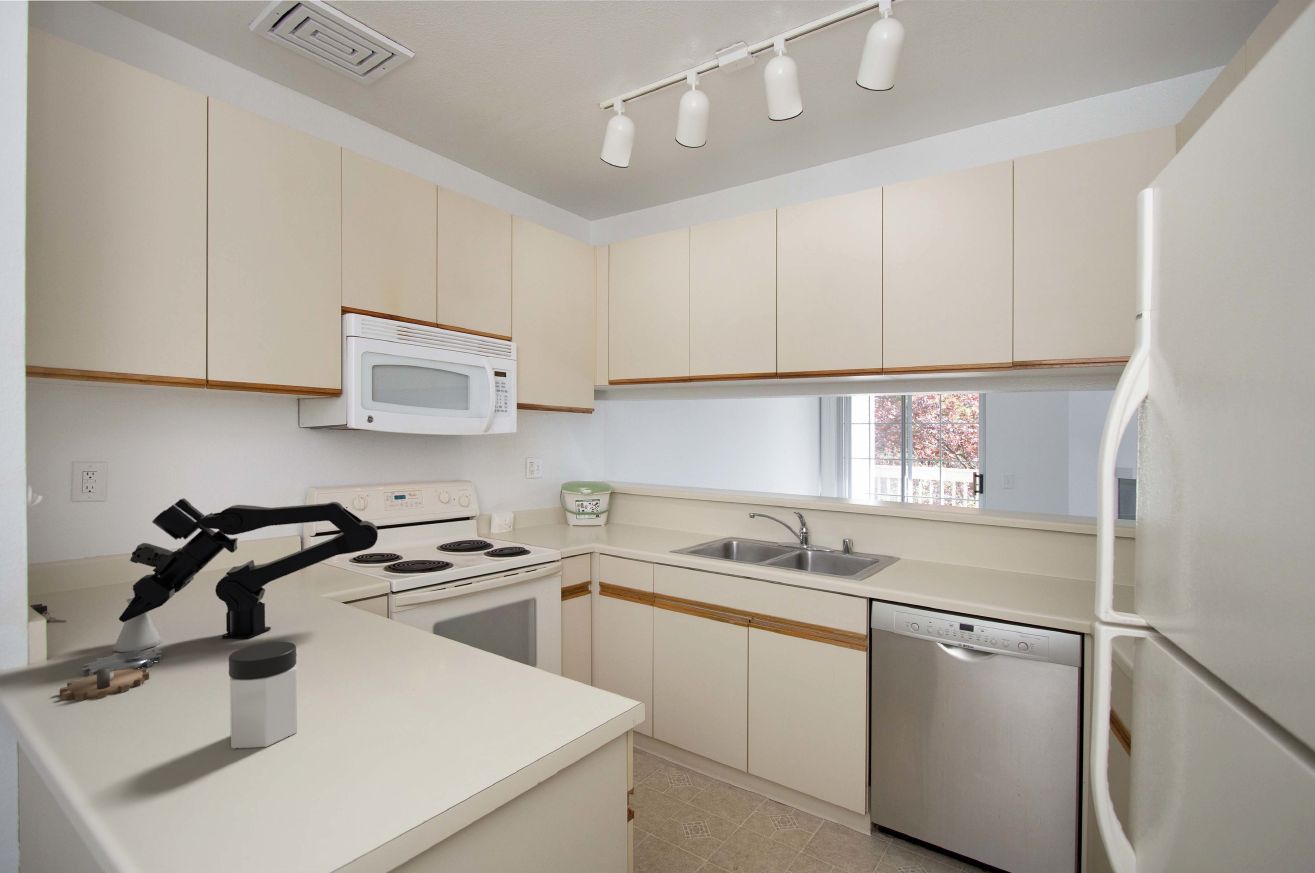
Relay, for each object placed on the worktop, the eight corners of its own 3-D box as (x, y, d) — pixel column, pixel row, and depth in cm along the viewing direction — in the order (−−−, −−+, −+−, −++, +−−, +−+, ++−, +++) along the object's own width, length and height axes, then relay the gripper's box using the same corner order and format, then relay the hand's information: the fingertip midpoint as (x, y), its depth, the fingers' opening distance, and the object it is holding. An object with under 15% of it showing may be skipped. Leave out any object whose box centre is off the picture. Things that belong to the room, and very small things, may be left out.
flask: (140, 653, 121) (139, 602, 121) (104, 653, 121) (103, 602, 121) (170, 640, 128) (169, 592, 128) (136, 640, 128) (135, 592, 128)
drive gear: (165, 674, 110) (165, 652, 110) (100, 702, 99) (99, 677, 99) (111, 671, 112) (111, 649, 112) (41, 698, 101) (40, 673, 100)
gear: (177, 655, 119) (177, 650, 119) (118, 678, 108) (118, 673, 108) (127, 652, 121) (127, 647, 121) (64, 675, 110) (63, 670, 110)
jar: (310, 719, 93) (309, 639, 92) (283, 747, 84) (282, 659, 84) (247, 722, 92) (246, 641, 92) (213, 750, 84) (212, 662, 83)
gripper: (175, 522, 135) (110, 578, 130) (146, 536, 118) (71, 600, 113) (219, 555, 138) (157, 611, 133) (197, 573, 121) (126, 637, 116)
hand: (129, 614), depth 124 cm, fingers open, 9 cm apart
